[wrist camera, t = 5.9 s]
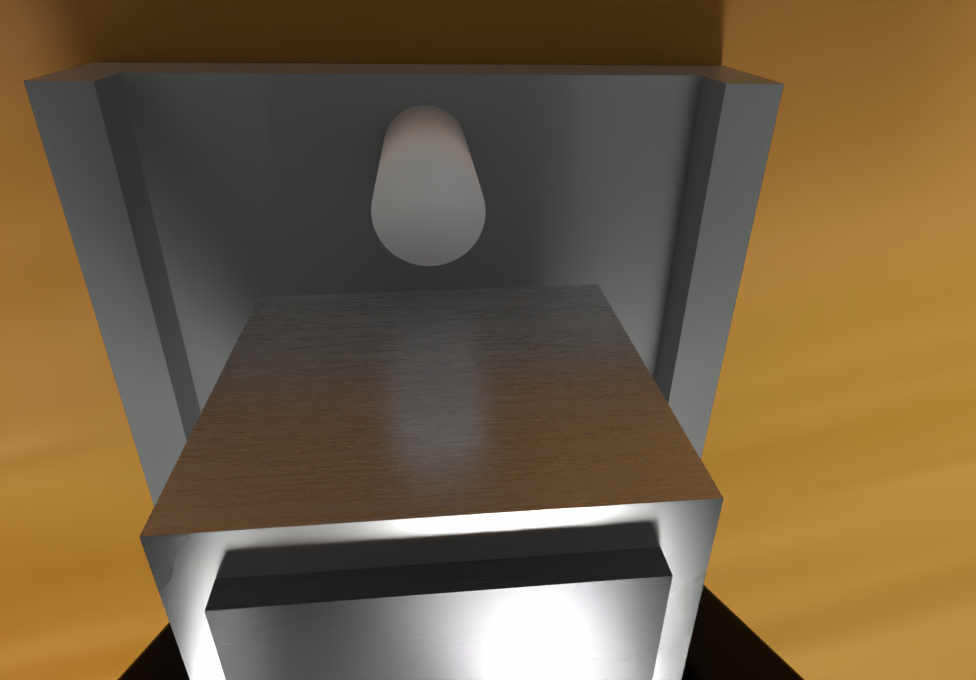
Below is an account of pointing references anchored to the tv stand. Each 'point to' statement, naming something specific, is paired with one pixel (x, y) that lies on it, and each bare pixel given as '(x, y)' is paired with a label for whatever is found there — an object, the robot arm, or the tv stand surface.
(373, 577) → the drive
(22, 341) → the tv stand surface
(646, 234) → the tray
